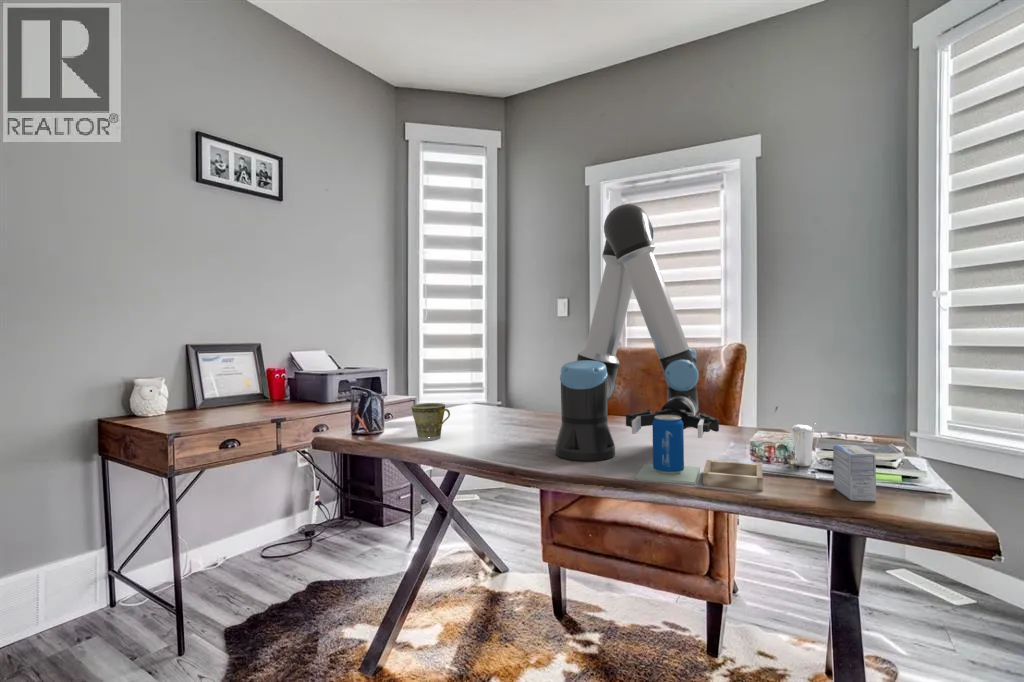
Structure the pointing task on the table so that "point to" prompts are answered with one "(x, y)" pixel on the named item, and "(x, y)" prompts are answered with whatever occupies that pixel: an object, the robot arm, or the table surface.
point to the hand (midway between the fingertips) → (665, 429)
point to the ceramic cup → (429, 420)
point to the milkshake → (803, 443)
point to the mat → (683, 477)
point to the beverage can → (668, 444)
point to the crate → (733, 475)
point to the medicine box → (854, 472)
